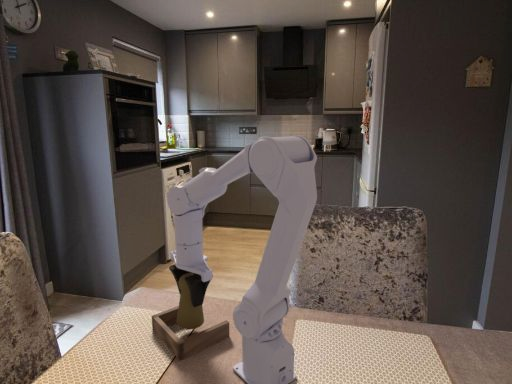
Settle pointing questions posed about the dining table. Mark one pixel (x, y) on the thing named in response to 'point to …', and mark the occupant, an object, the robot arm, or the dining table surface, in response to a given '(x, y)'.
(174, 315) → the open u-shaped frame
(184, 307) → the olive pawn shape
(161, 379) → the dining table surface
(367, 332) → the dining table surface
